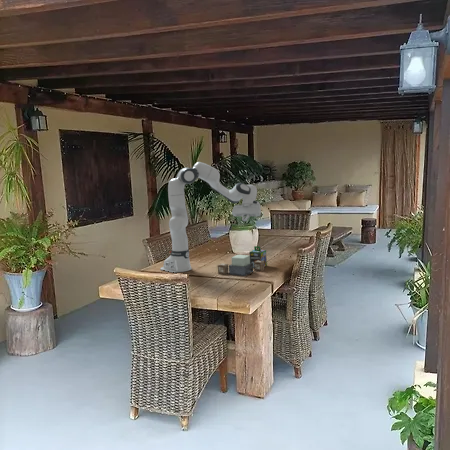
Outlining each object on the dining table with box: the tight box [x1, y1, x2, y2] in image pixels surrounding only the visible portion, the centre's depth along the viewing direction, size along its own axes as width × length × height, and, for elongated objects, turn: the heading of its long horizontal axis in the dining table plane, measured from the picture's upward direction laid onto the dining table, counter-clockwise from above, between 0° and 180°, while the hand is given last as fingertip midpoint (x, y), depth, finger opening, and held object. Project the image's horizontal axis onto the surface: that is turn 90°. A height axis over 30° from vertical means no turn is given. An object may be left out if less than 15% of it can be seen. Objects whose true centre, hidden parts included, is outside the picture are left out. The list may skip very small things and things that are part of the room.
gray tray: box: [228, 263, 254, 277], centre depth 292 cm, size 12×12×6 cm
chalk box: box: [249, 245, 268, 269], centre depth 307 cm, size 9×9×15 cm
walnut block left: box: [217, 263, 229, 275], centre depth 293 cm, size 5×5×6 cm
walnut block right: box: [253, 261, 265, 272], centre depth 297 cm, size 5×5×6 cm
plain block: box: [230, 254, 250, 266], centre depth 292 cm, size 9×9×8 cm
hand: (244, 220), depth 302 cm, fingers closed
